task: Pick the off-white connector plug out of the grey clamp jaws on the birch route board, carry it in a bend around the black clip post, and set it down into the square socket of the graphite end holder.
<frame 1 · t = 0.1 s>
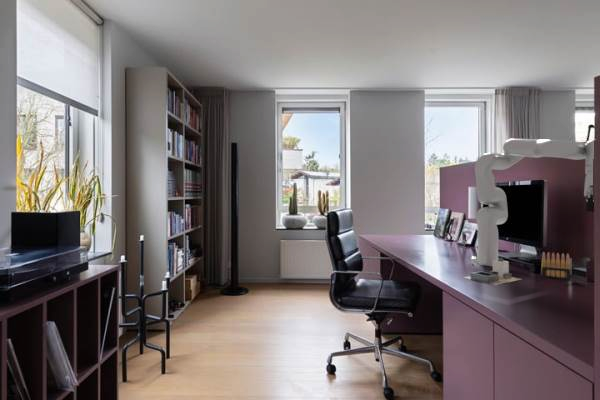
hand: (596, 211, 136), 31 cm above the table, tool pointing down, fingers open, 9 cm apart
end holder: (484, 279, 140), resting on route board
ammunition clip: (555, 279, 150), on the table
route board: (492, 281, 143), on the table
plug: (500, 276, 146), point 1 cm above the table, touching route board
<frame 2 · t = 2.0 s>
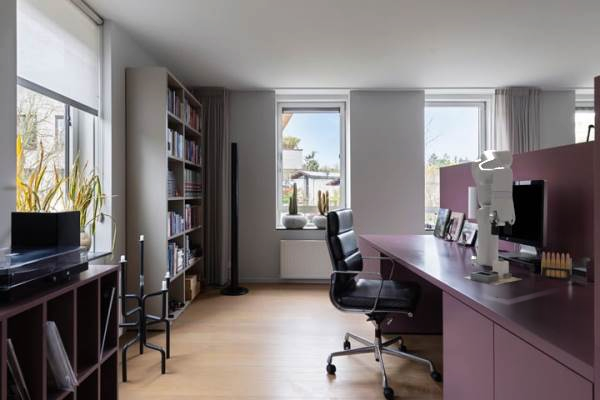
hand: (501, 234, 146), 20 cm above the table, tool pointing down, fingers open, 9 cm apart
nothing on the table moved.
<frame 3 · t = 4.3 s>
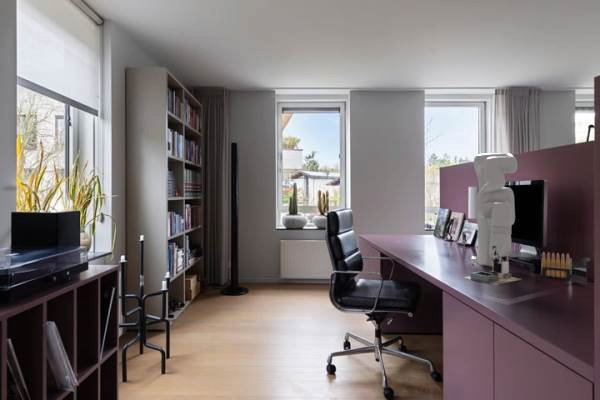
hand: (500, 271, 146), 4 cm above the table, tool pointing down, fingers closed on plug, 4 cm apart
plug: (500, 276, 146), point 2 cm above the table, touching gripper, route board
everything else where it was.
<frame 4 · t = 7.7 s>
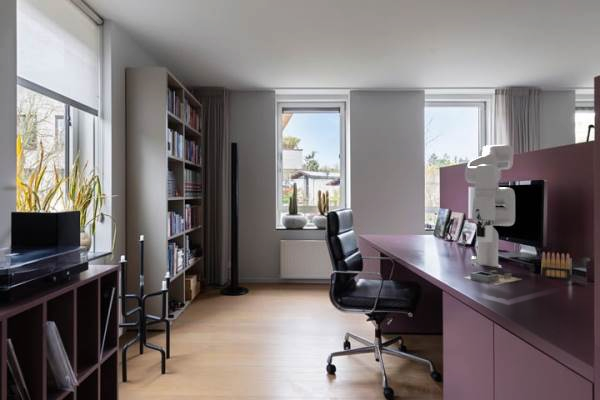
hand: (484, 236, 142), 20 cm above the table, tool pointing down, fingers closed on plug, 4 cm apart
plug: (484, 241, 142), point 17 cm above the table, touching gripper
everything else where it was.
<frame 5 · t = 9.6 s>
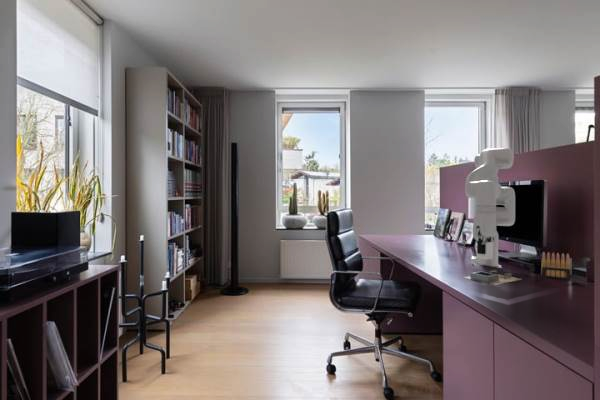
hand: (484, 252, 140), 13 cm above the table, tool pointing down, fingers closed on plug, 4 cm apart
plug: (484, 258, 140), point 11 cm above the table, touching gripper
everything else where it was.
when the fingers open (5 cm above the table, at t = 11.3 s): plug drops 1 cm, resting on route board.
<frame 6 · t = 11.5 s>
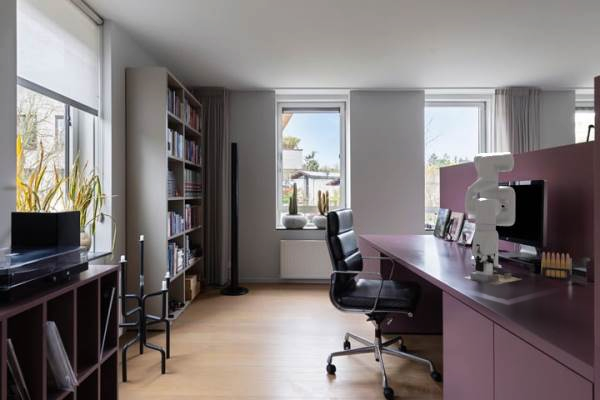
hand: (484, 269, 140), 6 cm above the table, tool pointing down, fingers open, 6 cm apart
plug: (484, 279, 140), point 1 cm above the table, touching route board
everything else where it was.
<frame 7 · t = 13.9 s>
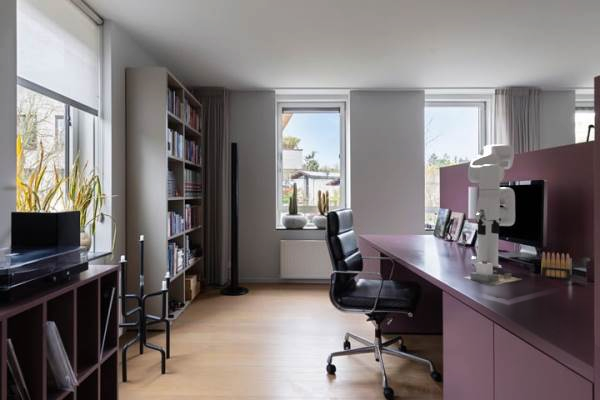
hand: (488, 234, 141), 21 cm above the table, tool pointing down, fingers open, 9 cm apart
nothing on the table moved.
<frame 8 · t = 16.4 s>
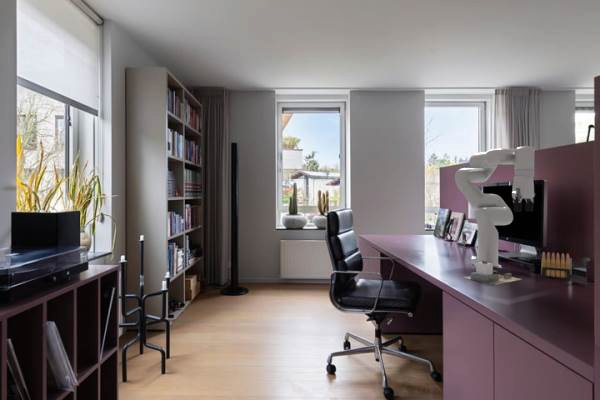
hand: (523, 211, 151), 30 cm above the table, tool pointing down, fingers open, 9 cm apart
nothing on the table moved.
at the end: plug 0.1 cm off-centre on the end holder, point 0.0 cm above the end holder's base; plug tilted 0°; the gripper is holding nothing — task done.
